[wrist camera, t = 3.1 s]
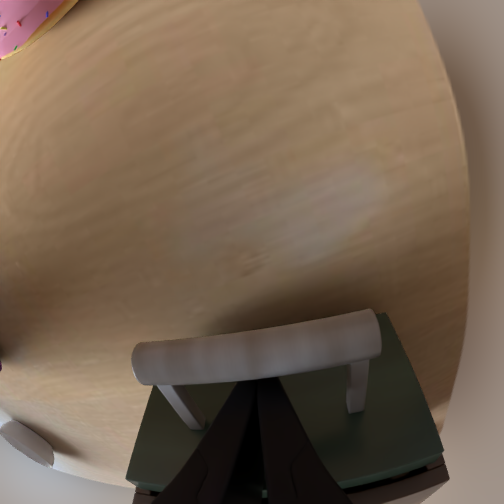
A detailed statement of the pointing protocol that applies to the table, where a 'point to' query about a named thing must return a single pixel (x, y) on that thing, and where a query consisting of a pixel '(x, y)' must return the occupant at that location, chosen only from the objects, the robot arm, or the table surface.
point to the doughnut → (28, 22)
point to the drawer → (291, 397)
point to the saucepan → (28, 442)
